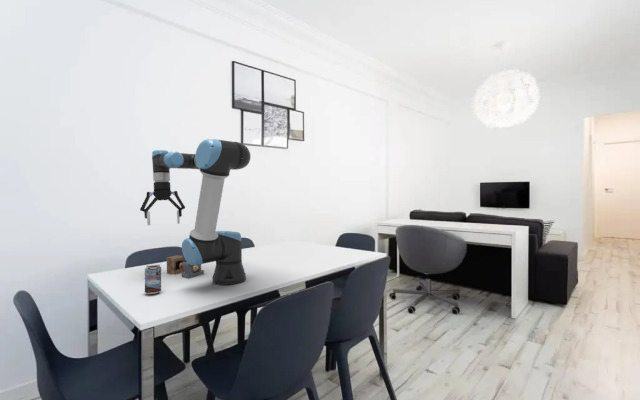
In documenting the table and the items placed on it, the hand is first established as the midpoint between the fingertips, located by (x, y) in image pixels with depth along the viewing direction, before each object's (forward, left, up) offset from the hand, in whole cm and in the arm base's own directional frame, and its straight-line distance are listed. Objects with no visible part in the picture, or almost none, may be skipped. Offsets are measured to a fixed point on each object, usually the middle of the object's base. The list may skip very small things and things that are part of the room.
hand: (163, 224), depth 165 cm
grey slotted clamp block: (-13, -6, -26) cm, 29 cm away
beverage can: (-22, +20, -26) cm, 39 cm away
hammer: (-10, -6, -23) cm, 26 cm away
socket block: (0, -6, -26) cm, 26 cm away
